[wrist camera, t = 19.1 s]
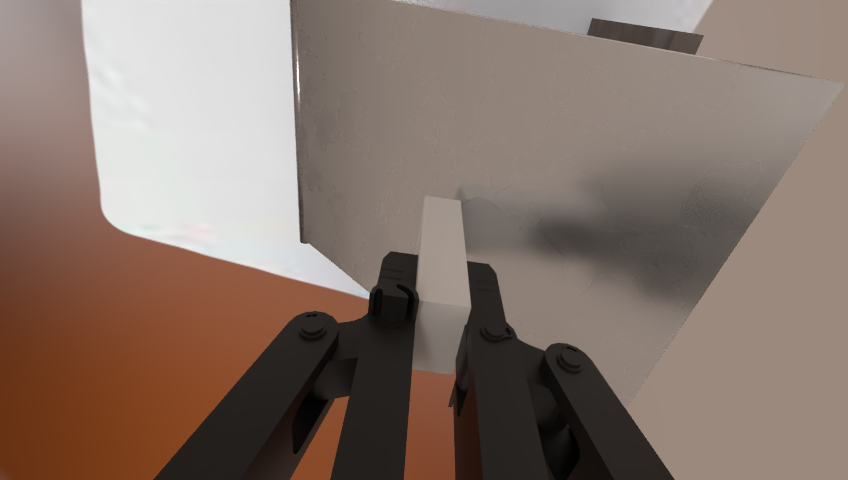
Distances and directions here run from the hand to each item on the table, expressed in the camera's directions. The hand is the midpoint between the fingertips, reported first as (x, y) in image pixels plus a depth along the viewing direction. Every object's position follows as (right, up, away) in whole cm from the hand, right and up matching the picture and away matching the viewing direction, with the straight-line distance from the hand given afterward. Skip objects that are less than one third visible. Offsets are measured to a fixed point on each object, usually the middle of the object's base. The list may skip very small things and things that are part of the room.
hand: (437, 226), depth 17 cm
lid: (0, +1, +2) cm, 2 cm away
